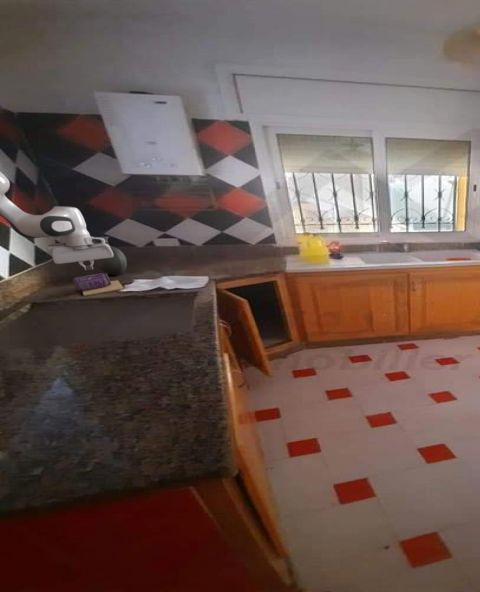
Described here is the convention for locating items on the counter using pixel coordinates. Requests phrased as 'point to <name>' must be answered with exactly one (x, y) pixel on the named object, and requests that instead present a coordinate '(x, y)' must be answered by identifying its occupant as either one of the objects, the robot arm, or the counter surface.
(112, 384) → the counter surface
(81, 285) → the beverage can
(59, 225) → the robot arm
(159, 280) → the counter surface
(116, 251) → the flask
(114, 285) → the mat
